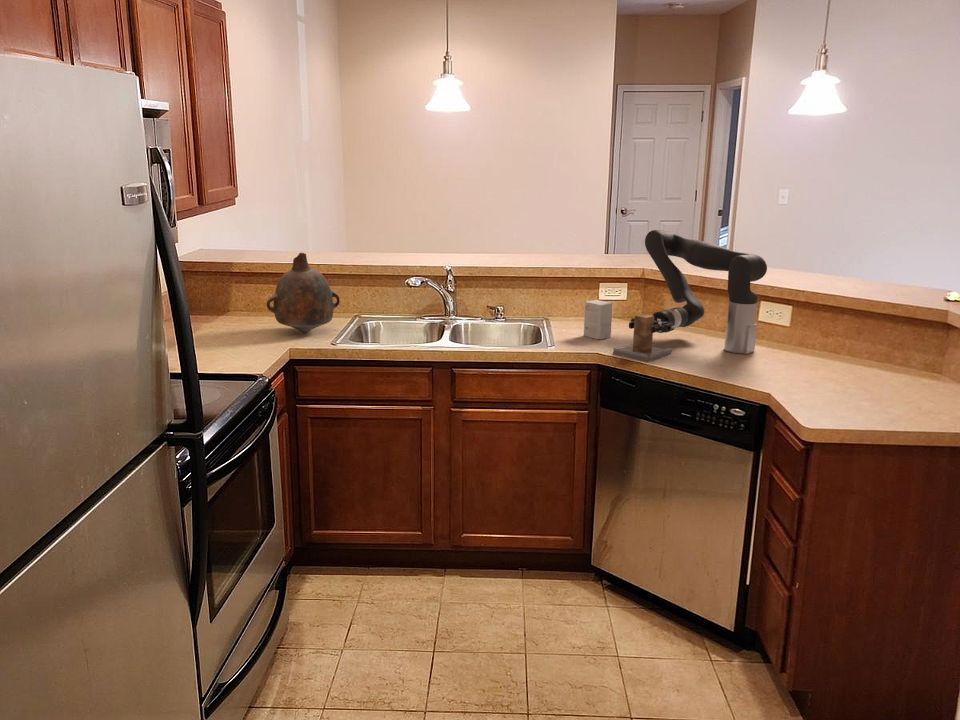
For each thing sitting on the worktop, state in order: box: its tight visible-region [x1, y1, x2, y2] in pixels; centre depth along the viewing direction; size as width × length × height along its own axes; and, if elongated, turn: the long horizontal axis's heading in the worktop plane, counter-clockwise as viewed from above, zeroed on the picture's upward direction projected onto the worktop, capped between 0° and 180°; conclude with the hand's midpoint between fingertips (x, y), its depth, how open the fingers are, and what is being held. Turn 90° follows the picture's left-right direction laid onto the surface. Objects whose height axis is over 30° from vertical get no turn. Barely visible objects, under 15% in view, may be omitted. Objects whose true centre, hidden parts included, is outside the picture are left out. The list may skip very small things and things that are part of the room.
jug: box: [266, 252, 341, 333], centre depth 288 cm, size 24×21×30 cm
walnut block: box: [632, 313, 654, 353], centre depth 266 cm, size 5×5×12 cm
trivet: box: [612, 343, 672, 362], centre depth 267 cm, size 14×14×2 cm
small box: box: [583, 299, 613, 340], centre depth 289 cm, size 8×6×13 cm
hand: (640, 327), depth 264 cm, fingers open, 8 cm apart
